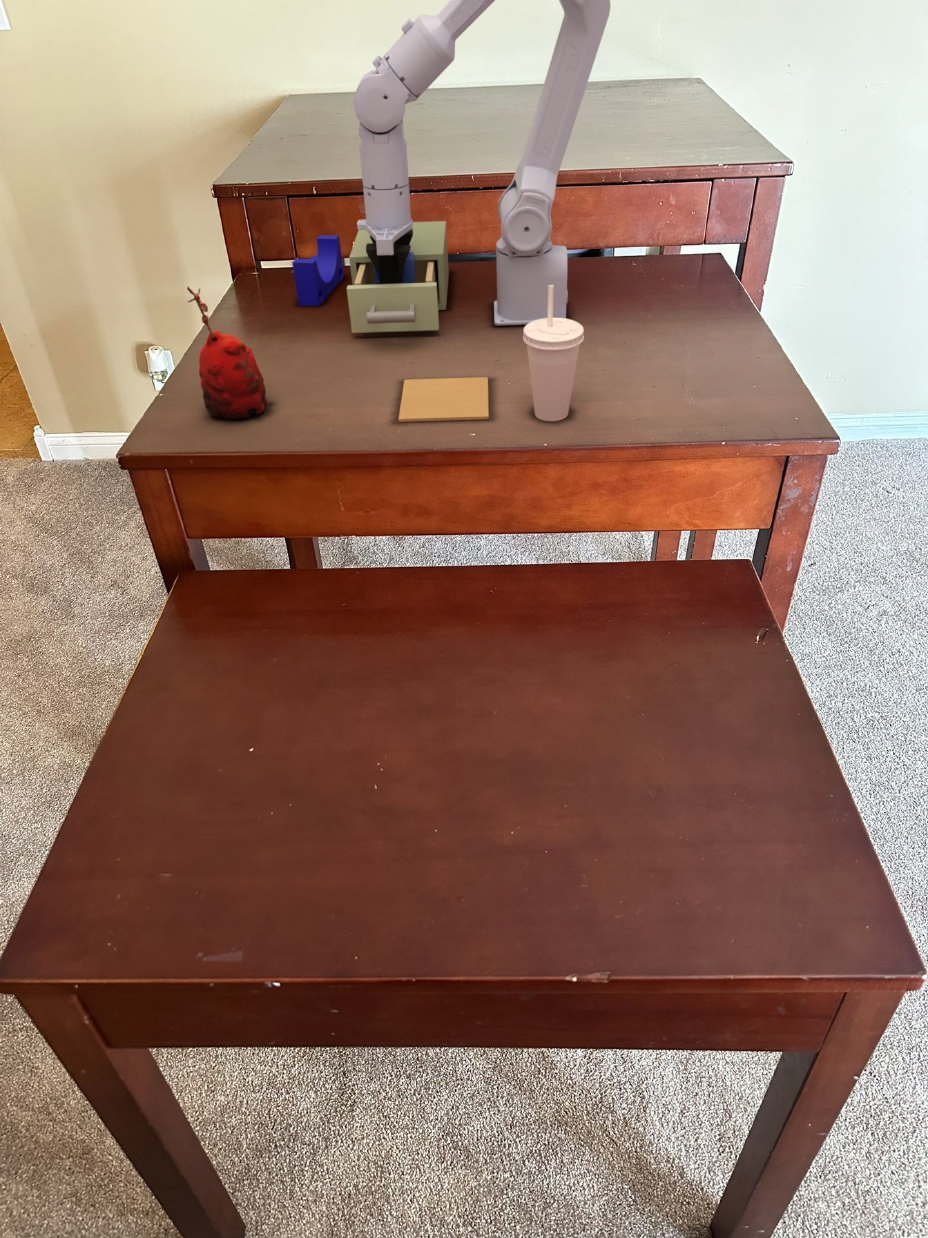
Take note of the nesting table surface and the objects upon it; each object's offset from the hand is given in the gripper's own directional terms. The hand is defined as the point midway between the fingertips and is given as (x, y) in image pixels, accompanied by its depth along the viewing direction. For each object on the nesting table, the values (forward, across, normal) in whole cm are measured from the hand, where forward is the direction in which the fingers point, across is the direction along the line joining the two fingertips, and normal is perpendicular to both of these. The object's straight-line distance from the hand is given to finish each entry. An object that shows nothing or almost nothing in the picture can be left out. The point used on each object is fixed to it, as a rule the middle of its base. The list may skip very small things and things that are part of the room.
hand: (393, 293), depth 120 cm
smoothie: (+4, +28, +19) cm, 35 cm away
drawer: (+3, +1, 0) cm, 3 cm away
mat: (+4, +24, +7) cm, 26 cm away
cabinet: (+4, -11, 0) cm, 11 cm away
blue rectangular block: (+2, 0, 0) cm, 2 cm away
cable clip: (+4, -13, -12) cm, 18 cm away
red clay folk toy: (+4, +25, -17) cm, 31 cm away
